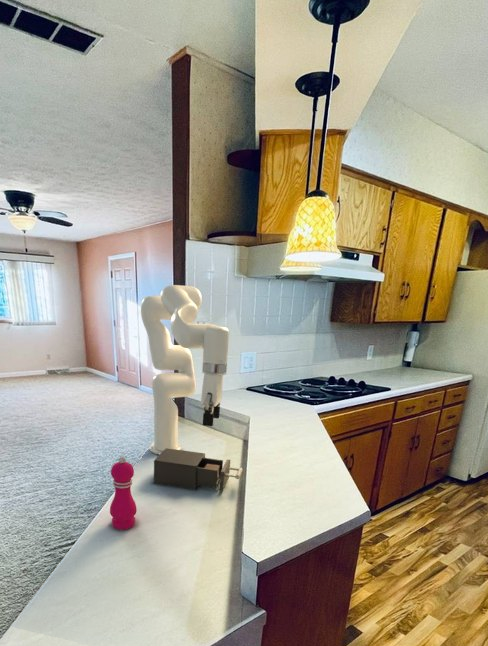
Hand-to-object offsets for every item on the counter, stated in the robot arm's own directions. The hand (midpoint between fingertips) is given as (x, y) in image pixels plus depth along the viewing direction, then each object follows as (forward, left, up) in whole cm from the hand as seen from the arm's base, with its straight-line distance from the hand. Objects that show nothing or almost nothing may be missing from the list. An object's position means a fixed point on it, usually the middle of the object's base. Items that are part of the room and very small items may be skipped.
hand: (211, 421), depth 133 cm
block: (0, +1, -20) cm, 20 cm away
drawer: (0, +2, -21) cm, 22 cm away
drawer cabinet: (0, -10, -22) cm, 24 cm away
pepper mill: (+34, -16, -22) cm, 44 cm away
